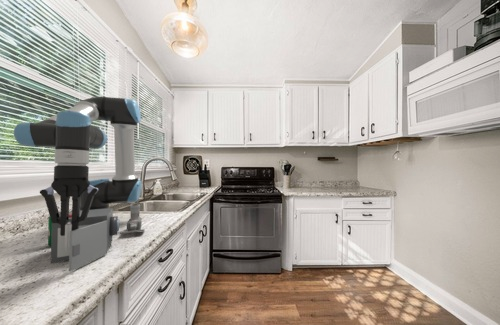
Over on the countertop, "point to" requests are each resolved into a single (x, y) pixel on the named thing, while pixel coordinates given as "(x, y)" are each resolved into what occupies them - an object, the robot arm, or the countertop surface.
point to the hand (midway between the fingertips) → (69, 245)
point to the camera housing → (92, 218)
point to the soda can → (50, 230)
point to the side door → (87, 244)
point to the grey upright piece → (134, 220)
